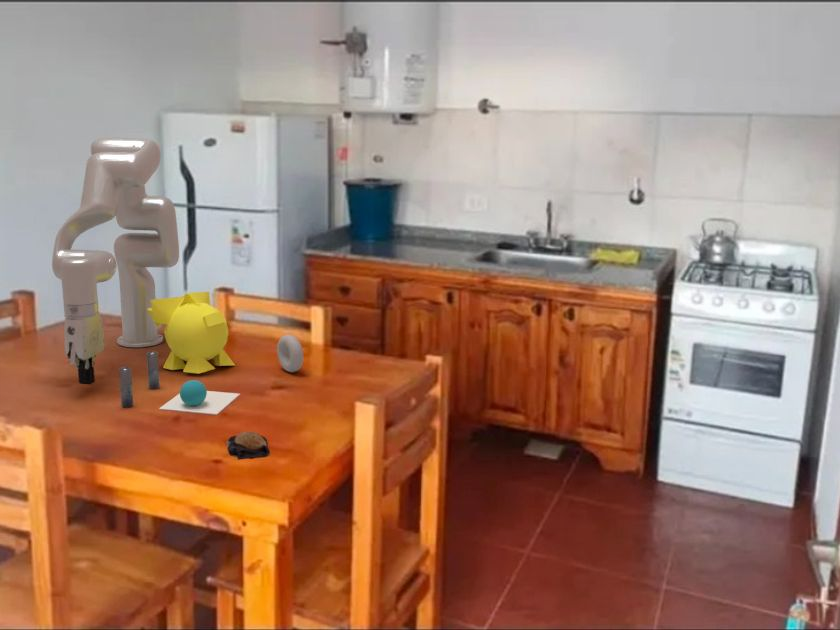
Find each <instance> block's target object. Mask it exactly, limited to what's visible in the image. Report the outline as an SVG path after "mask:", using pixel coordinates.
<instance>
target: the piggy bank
mask: <svg viewBox="0 0 840 630" xmlns="http://www.w3.org/2000/svg"><path fill="white" fill-rule="evenodd" d="M210 298H211V297H210V292H209V291H201V292H200V291H199V292H198V291H196V292H195V291H193V292H186V293H185V294H184V295H183V296H176V297H175V296H174V297H167V298H158V299H157V298H156V299H154V300H151V305H152V308H149V309H147V311H148V312H149V314H150V316H151V318H152V319H153V321H154V323H155V324H156V326H157V327H159V326H161V325H162V326H163V325H165V327H164V329H163V332H164V338H165V342H166V344H167V345H168V346H167V347H169V349H170V353H169V355H168V356H167V358H166V361H165V363H164V365H163V367H162V368H163V369H167V370H171V371H175V370H183V371H182V372H183V373H189V374H190V373H191V374H197V375H198V374H201V373H206V372H208V371H212V370H215V369H216V368H215V366H217V367H221V366H224V367H225V366H236V364H235V363H234V362H233V360H232V359H231V357H230V356H229V355H228V354H227V352H226V351H225V350H224V347H225V346H226V344H227V342H228V336H229V332H230V331H229V327H228V324H227V320H226V317H225V315H224V313H223V311H220V310H219V309H217V308H216V307H214V306H212V305H211V299H210ZM162 326H161V327H162ZM212 359H213V362H214V363H213V364H214V365H212V363H210V362H209V360H212ZM184 361H185V362H186V363H185V362H184Z"/></svg>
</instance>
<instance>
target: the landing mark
mask: <svg viewBox="0 0 840 630" xmlns="http://www.w3.org/2000/svg"><path fill="white" fill-rule="evenodd" d="M206 391H207V395H206V398H205V400H204V401H203V402H202V403H201V404H199V405H197V406H189V405H187V404H185V403H184V402H183V401H182V400H181V397H180V392H179V393H177V394H176V395H175V396H174V397H173V398H172V399H169V401H167V402H166V403H165V404H163V405H162V406H160V407H159V408H158V410H161V411H163V410H164V411H170V412H171V411H172V412H183V413H192V414H193V413H194V414H202V415H203V414H205V415H214V416H215V415H216V416H217V415H218V414H220V413H221V412H222V411H223V410H224V409H226V408H227V407H228V406H229V405H230V404H231V403H232V402H233V401H235V400H236V399H237V398H238V397H239V396H240V395H241V393H236V392H226V391H225V392H223V391H212V390H211V391H210V390H206Z"/></svg>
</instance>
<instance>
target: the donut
mask: <svg viewBox="0 0 840 630" xmlns="http://www.w3.org/2000/svg"><path fill="white" fill-rule="evenodd" d="M277 342H278V343H277V346H276V353H277V354H276V355H277V358H278V362H279V364H280V366H281V367H282V368H283V369H284V370H285V371H287V372H289V373H295V372H298V371H299V370H301V367H302V366H303V362H304V351H303V347H302V345H301V342H300V340H299V339H298V338H297V337H296V336H294V335H292V334H285V335H283V336H281V337H280V339H279V340H278V341H277Z"/></svg>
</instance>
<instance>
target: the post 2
mask: <svg viewBox="0 0 840 630" xmlns="http://www.w3.org/2000/svg"><path fill="white" fill-rule="evenodd" d="M146 364H147V365H146V367H147V382H148V383H147V384H148V389H149V390H158V389H159V388H160V386H161V385H160V370H159V369H160V367H159V351H157V350H149V351H147V352H146Z"/></svg>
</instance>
